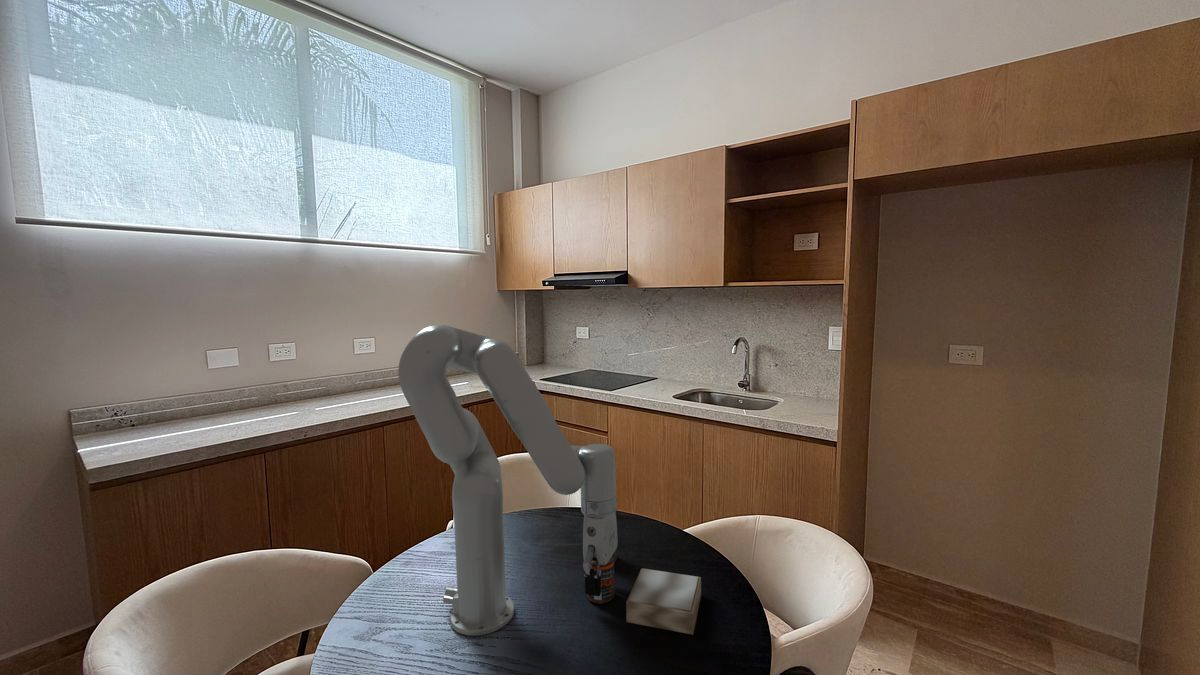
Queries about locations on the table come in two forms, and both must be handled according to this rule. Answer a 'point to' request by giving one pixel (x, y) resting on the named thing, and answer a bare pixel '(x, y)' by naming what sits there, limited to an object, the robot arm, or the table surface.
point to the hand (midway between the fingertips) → (600, 581)
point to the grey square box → (664, 601)
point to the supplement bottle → (605, 582)
